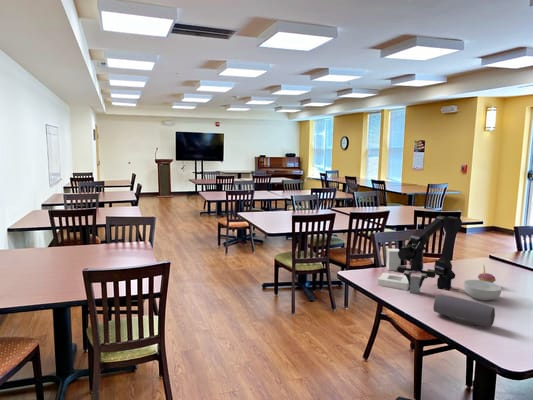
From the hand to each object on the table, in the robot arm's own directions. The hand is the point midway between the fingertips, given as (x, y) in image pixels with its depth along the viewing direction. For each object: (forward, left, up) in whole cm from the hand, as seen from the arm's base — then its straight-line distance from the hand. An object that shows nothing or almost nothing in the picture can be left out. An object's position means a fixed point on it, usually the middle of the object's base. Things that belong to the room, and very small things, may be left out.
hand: (415, 286), depth 206 cm
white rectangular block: (+19, -38, -3) cm, 43 cm away
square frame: (+12, -8, -3) cm, 15 cm away
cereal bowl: (-31, -9, -3) cm, 32 cm away
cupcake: (-33, -32, -3) cm, 46 cm away
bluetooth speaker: (-24, +28, -3) cm, 37 cm away
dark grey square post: (0, 0, -3) cm, 3 cm away
